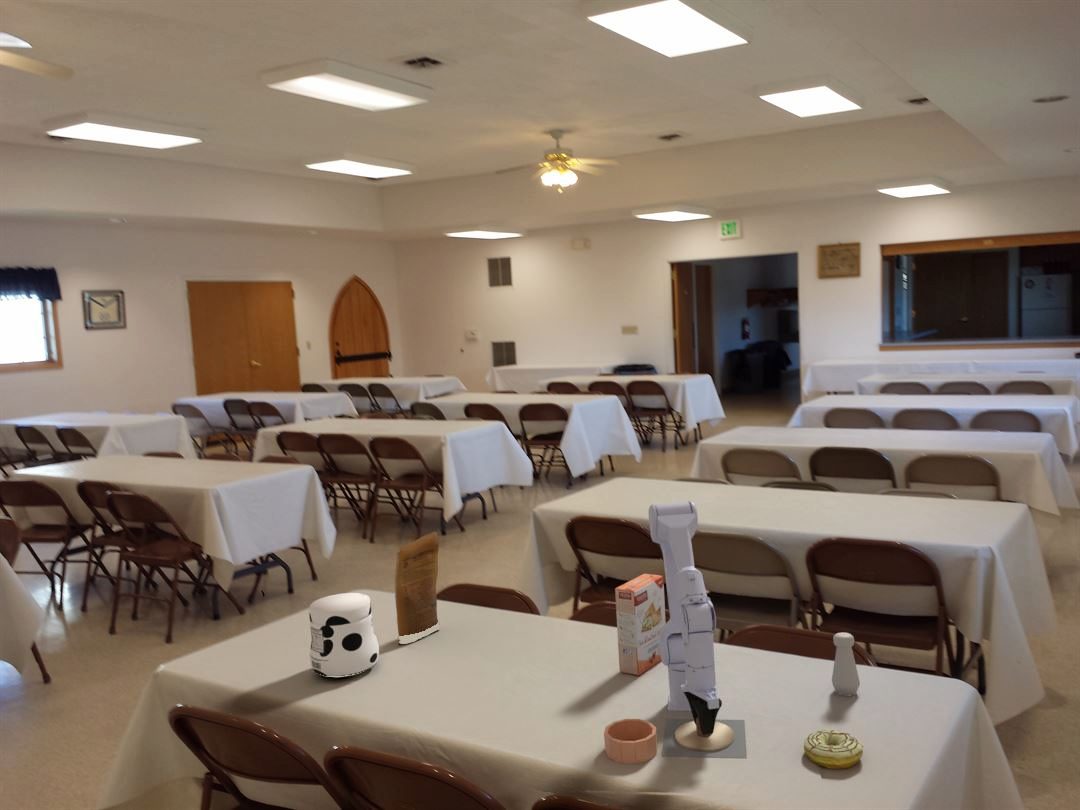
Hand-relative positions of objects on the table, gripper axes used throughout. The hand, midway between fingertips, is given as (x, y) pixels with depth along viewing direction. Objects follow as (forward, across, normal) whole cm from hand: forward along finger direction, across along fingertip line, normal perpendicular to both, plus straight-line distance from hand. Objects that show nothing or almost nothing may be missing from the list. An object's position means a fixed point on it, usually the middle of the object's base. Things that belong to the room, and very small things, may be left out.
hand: (703, 728), depth 180 cm
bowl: (+2, +1, -15) cm, 15 cm away
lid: (+2, 0, 0) cm, 2 cm away
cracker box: (+2, -41, -1) cm, 41 cm away
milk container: (+2, -63, -74) cm, 97 cm away
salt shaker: (+2, -11, +36) cm, 38 cm away
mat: (+2, 0, 0) cm, 2 cm away
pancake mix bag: (+2, -82, -54) cm, 98 cm away
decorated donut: (+3, +14, +20) cm, 25 cm away
